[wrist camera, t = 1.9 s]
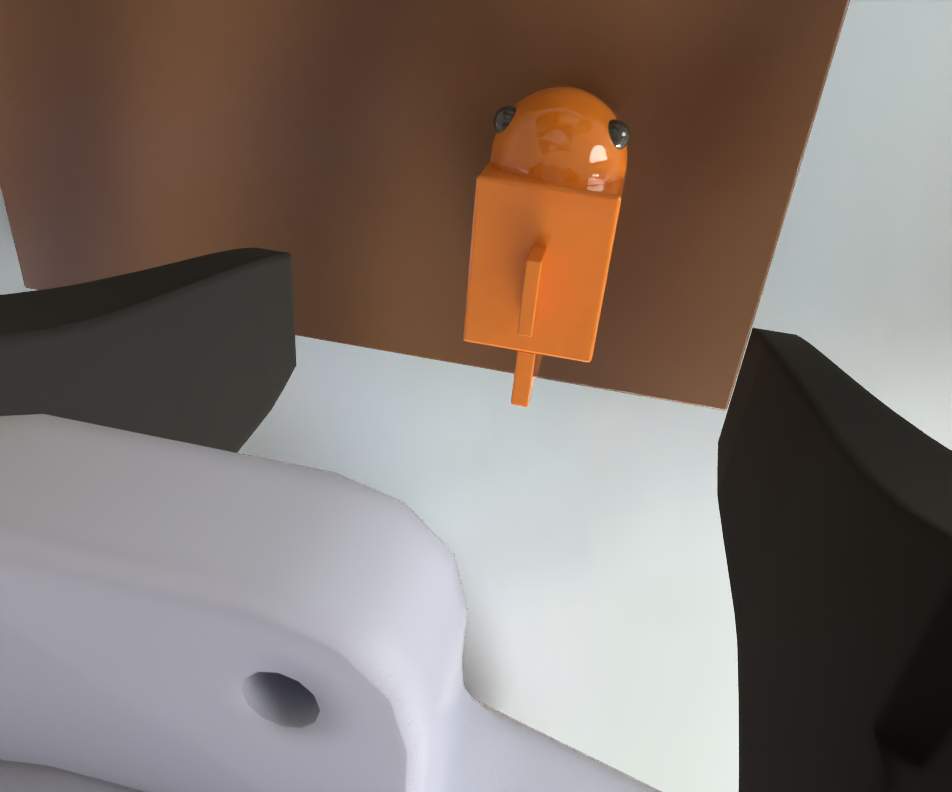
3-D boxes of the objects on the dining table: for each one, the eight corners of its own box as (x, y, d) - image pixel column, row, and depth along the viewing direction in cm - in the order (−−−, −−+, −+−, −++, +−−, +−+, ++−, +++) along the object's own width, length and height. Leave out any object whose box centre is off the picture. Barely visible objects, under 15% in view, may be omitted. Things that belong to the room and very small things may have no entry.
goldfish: (592, 353, 20) (577, 440, 16) (485, 335, 20) (448, 415, 17) (641, 83, 16) (636, 121, 13) (511, 67, 17) (472, 99, 13)
